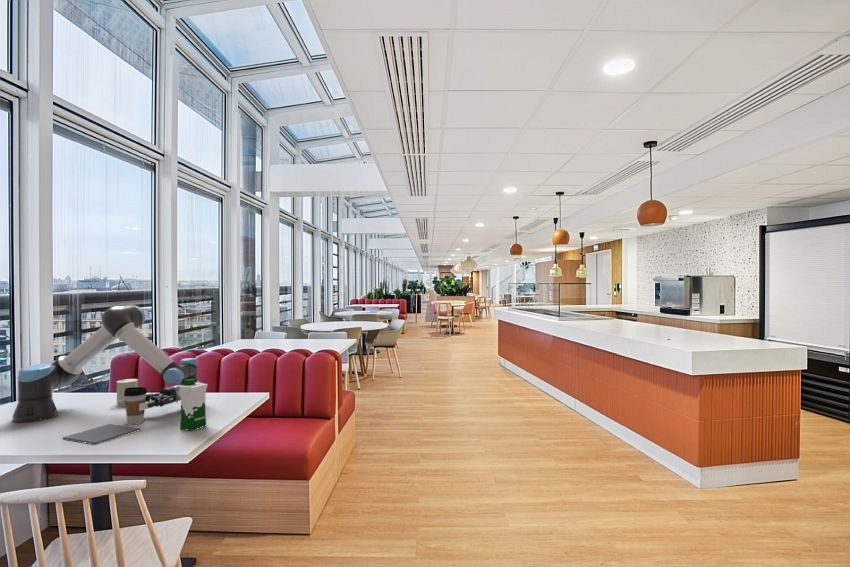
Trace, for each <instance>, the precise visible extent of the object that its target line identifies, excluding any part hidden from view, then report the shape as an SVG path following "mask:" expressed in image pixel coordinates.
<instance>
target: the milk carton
mask: <svg viewBox="0 0 850 567" xmlns="http://www.w3.org/2000/svg"><path fill="white" fill-rule="evenodd" d="M179 389H180V394H181V400H180V425H179V429H180V430H183V429H188V430H187V431H190V430H194V431H196V430H195V429H197V428H200V427H202V426H205V425H206V426H207V416H206V392H207V389H208V383H203V382H201V383H195V379H186V380H184V385H181V386H179ZM206 426H205V427H206ZM202 428H203V427H202ZM200 429H201V428H200ZM197 430H198V429H197Z"/></svg>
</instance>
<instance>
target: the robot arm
mask: <svg viewBox="0 0 850 567" xmlns="http://www.w3.org/2000/svg"><path fill="white" fill-rule="evenodd" d="M145 321H146V314H145V311H144V310H143V309H142V308H141V307H140V306H137V305H134V304H126V305H117V306H112V307H109V308H107V309H106V310H105V311H104V312H103V314H102V316H101V324H102V326H101V327H100V328H99V329H97V330H96V331H95V332H94V333H92V335H90V336H89V337H88V338H87V339H85V340H84V341H82V342H81V343H80V345H78V346H77V347H75V348H74V349H73V350H72V351H71V352H69V353H68V355H60V356H59V357H58V358H57V359H56V360H54V361H53V362H52V363H35V364H30V365H28V366H27V365H26V366H24V367H22V368H20V369H19V371H18V374H17V375H18V376H17V383H18V384H17V386H18V387H17V389H18V390H17V395H18V396H17V399H18V401H17V405H16V407H15V409H14V411H13V412H14V413H13V414H12V422H14V421H15V423H27V421H30V422H35V421H34V420H37V421H41V420H40V419H43V420H46V419H45V418H47V419H50V418H49V417H51V418H53V417H52V416H54V417H56V416H57V415H58V409H57V407H56V404H55V402H54V399H53V390H55V389H59V388H62V387H67V386H69V385H71V384H72V383H74V382H76V381H77V380H78V378H79V377H80V374H81V373H82V372H83V368H84V367H85V366H86V365H87V364H88V363H89V362H91V361H92V360H93V359H94V358H95V357H96V356H98V355H99V354H100V353H101V352H102V351H104V350H105V349H106V348H107V347H108V346H110V345H111V344H112V343H113V342H115V341H116V340H117V339H119V340H120V341H122V342H123V343H124V344H126V345H127V346H128V347H129V348H130V349H132V350H133V351H134V352H135V353H136V354H137V355H138V356H140V357H141V358H142V359H143V360H145V361H146V362H147V363H148V364H149V365H150V366H152V368H153V369H155V370H156V371H157V372H158V373H159V374H161V375H162V379H163V381H164V383H165V384H166V385H169V387H164V388H161V390H160V391H159V392H155V393H146V397H145V398H146V402H145V403H142V404H139V411H141V410H148V409H152V408H155V407H164V406H165V405H169V404H173V403H176V404H177V403H179V402H181V394H180V389H179V386H181V385H184V380H186V379H195V383H202V382H201V381H199V380H198V367H199V366H198V360H197V358H193V357H189V358H188V357H186V358H182V359H180V361H179V364H178V363H177V362H176V361H175V360H173V359H172V358H171V357H170V356H169V355H168V354H166V353H165V352H164V351H163V350H161V348H160V347H158V346H157V345H156V344H155V343H154V342H152V341H151V340H150V339H149V338H148V337H147V336H146V335H145V334H143V332H141V331H140V330H139V329H138V328H141V327H142V326H143V325H144V323H145ZM116 404H117V405H116V408H117V409H119V408H122V407H126V406H125V399H124V400H120V401H117V400H116ZM55 415H56V416H55Z"/></svg>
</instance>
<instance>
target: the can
mask: <svg viewBox="0 0 850 567" xmlns="http://www.w3.org/2000/svg"><path fill="white" fill-rule="evenodd" d="M130 387H139V379H137V378H126V379H120V380H117V381H116V402H117V401H120V400H124V399H125V396H124V392H125V389H126V388H130Z"/></svg>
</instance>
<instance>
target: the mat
mask: <svg viewBox="0 0 850 567" xmlns="http://www.w3.org/2000/svg"><path fill="white" fill-rule="evenodd" d="M137 430H139V431H141V428H140V427H135V426H134V427H133V426H126V425H119V424H115V423H114V424H112V423H108V424H105V425H101V426H97V427H93V428H90V429H86V430H84V431H80V432H75V433H73V434H69V435H66V436H63V437H62V440H65V439H68V440H67V441H70V440H74V441H73V442H76V441H80V442H79V443H82V442H86V443H85V444H88V443H91V444H90V445H94V444H95V445H98V444H97V443H99V444H101V443H100V442H102V443H104V441H105V442H108V441H111V440H114V439H117V438H120V437H119V436H121V437H123V436H122V435H124V436H126V435H125V434H127V435H129V434H128V433H130V434H132V433H131V432H133V433H135V432H134V431H136V432H138V431H137ZM116 437H117V438H116ZM113 438H114V439H113ZM110 439H111V440H110ZM107 440H108V441H107Z"/></svg>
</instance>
